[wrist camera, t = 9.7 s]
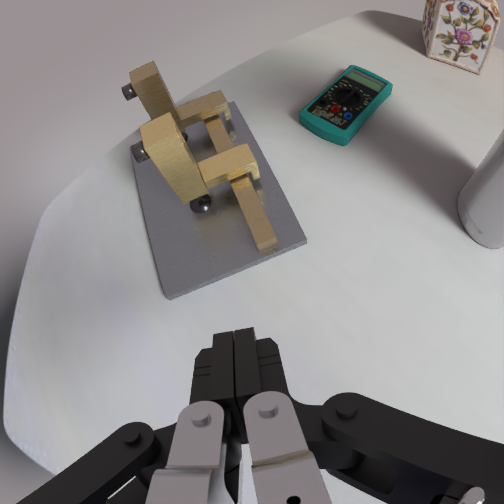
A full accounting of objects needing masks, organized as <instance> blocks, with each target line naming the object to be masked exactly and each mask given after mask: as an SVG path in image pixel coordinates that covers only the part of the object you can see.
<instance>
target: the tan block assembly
mask: <svg viewBox="0 0 504 504" xmlns="http://www.w3.org/2000/svg"><path fill="white" fill-rule="evenodd" d="M129 73H130V79H131V83H129V84H127V85H126V86H123V87H122V92H123V94H124V96H125V98H126V100H130V99H132V98H134V97H136V96H138V97H139V99H140V100H141V102H142V104H143V106H144V107H145V109H146V111H147V112H148V114H149V116H150V117H151V119H152V120H154V119H156V118H158V117H160V116H162V115H164V114H167V113H169V112H170V113H171V115H172V117H173V119H174V121H175V123H176V125H177V126H178V128H179V130H180V132H181V133H182V132H185V131H186V129H185V128H186V127H188V126H190V125H192V124H195V123H197V122H200V121H202V120H203V121H204V123H205V126H206V128H207V130H208V133H209V135H210V137H211V140H212V142H213V144H214V147H215V149H216V151H217V154H220V153H222V152H224V151H227V150H229V149H232V148H234V146H233V144H232V142H231V140H230V138H229V136H228V133H227V131H226V129H225V127H224V125H223V123H222V121H221V119H220V117H219V115H218V114H219V113H223V115H224V117H225V119H226V121H227V120H229V119H232V116H231V113H230V110H229V106H228V103H227V101H226V99H225V97H224V96H223V94H222V92H221V90H219V91H217V92H213V93H210V94H208V95H205V96H203V97H200V98H198V99H195V100H193V101H191V102H188V103H186V104H184V105H181V106H179V107H177V108H176V105H175V103H174V101H173V99H172V97H171V95H170V93H169V91H168V89H167V87H166V85H165V83H164V81H163V79H162V77H161V75H160V73H159V71H158V68H157V66H156V64H155V62H154V61H152V62H150V63H147V64H145V65H143V66H141V67H139V68H137V69H135V70H133V71H131V72H129ZM229 182H230V184H231V186H232V189H233V191H234V193H235V196H236V198H237V200H238V203H239V205H240V207H241V210H242V212H243V214H244V217H245V219H246V221H247V224H248V226H249V229H250V231H251V233H252V236H253V238H254V240H255V243H256V245H257V247H258V250H259V252H260V254H261V253H263V252H266V251H268V250H271V249H273V248H275V247H278V243H277V238H276V235H275V233H274V231H273V229H272V227H271V225H270V222H269V220H268V218H267V216H266V214H265V212H264V209H263V207H262V205H261V203H260V201H259V199H258V196H257V194H256V192H255V190H254V188H253V186H252V184H251V182H250V179H249V177H248V175H247V173H246V174H243V175H241V176H239V177H236V178H234V179H231V180H229Z"/></svg>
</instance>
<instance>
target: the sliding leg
mask: <svg viewBox="0 0 504 504" xmlns="http://www.w3.org/2000/svg"><path fill="white" fill-rule="evenodd" d="M140 131H141V136H142V141H140V142H138V143H136V144H134V145H132V146H131V151H132V154H133V156H134V158H135V160H136V161H137V163H141V162H143V161H145V160H147V159H149V158H151V159H152V161H153V162H154V163H155V165H156V166H157V168H158V169H159V170H160V172H161V173H162V175H163V176H164V177H165V179H166V180H167V182H168V183H169V185H170V186H171V187H172V189H173V190H174V192H175V193H176V194H177V196H178V197H179V198H180V200H181V201H182V203H183V204H184V203H187V202H189V201H191V200H193V199H196V200H197V199H200V198H201V196H203V195H205V194H207V193H209V192H208V189H210V188H212V187H215V186H217V185H219V184H222V183H224V182H227V181H229V180H231V179H234V178H236V177H239V176H241V175H243V174H246V173H248V172H250V173H251V175H252V178H253V180H254V179H257V178H259V177H260V174H259V170H258V166H257V161H256V160H255V158H254V156H253V154H252V152H251V150H250V148H249V146H248V144H247V143H246V144H242V145H239V146H237V147H234V148H232V149H229V150H227V151H224V152H222V153H220V154H217V155H215V156H212V157H210V158H208V159H205V160H203V161H201V162H198V165H197V163H196V161H195V159H194V157H193V155H192V153H191V152H190V150H189V148H188V146H187V144H186V142H185V140H184V138H183V136H182V134H181V132H180V130H179V128H178V126H177V125H176V123H175V121H174V119H173V117H172V115H171V113H170V112H169V113H167V114H164V115H162V116H160V117H158V118H156V119H154V120H152V121H150V122H148V123H146V124H144V125H142V126H140ZM198 166H199V167H198ZM207 188H208V189H207Z"/></svg>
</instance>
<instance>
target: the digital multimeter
mask: <svg viewBox="0 0 504 504" xmlns="http://www.w3.org/2000/svg"><path fill="white" fill-rule="evenodd" d="M392 86H393V85H392V84H391V83H390V82H389V81H387V80H385V79H383V78H382V77H380V76H378V75H376V74H374V73H372V72H370V71H367V70H365V69H363V68H360V67H358V66H355V65H350V66H349V67H348V68H347V69H346V70H345V71H344V72H343V73H342V74H341V75H340V76H339V77H338V78H337V79H336V80H335V81H334V82H333V83H332V84H331V85H330V86H329V87H328V88H327V89H325V90H324V91H323V92H322V93H321V94H320V95H318V96H317V97H316V98H315V99H314V100H313V101H311V102H310V103H309V104H308V105H306V106H305V107H304V108H303V109H302V110H300V111H299V120H300V123H301V124H303V125H304V126H305V127H306V128H307V129H309V130H310V131H311V132H313V133H314V134H316V135H317V136H319V137H321V138H323V139H325V140H328V141H330V142H333V143H336V144H339V145H342V146H346V145H347V144H348V142H349V141H350V140H351V138H352V137H353V136H354V134H355V133H356V132H357V131H358V129H359V128H360V127H361V126H362V124H363V123H364V122H365V121H366V120H367V118H368V117H369V116H370V115H371V114H372V113H373V112H374V111H375V110H376V108H377V107H378V106H379V105H380V104H381V103H382V102H383V101H384V100H385V99H386V98H387V97H388V96H389V95H390V94H391V91H392ZM361 96H362V97H361ZM369 103H370V104H369ZM358 115H359V116H358ZM348 126H349V127H348Z"/></svg>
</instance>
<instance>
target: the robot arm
mask: <svg viewBox="0 0 504 504" xmlns="http://www.w3.org/2000/svg"><path fill="white" fill-rule="evenodd" d="M457 206H458V213H459V216H460V219H461V222H462V224H463V226H464V228H465V229H466V231H467V232H468V234H469V235H470V236H471V237H472V238H473V239H474V240H475V241H476V242H478V243H479V244H481V245H483V246H485V247H487V248H491V249H498V248H501V247H503V246H504V129H503V131H502V132H501V134H500V136H499V137H498V139H497V140H496V142H495V143H494V145H493V146H492V148H491V149H490V151H489V152H488V154H487V155H486V156H485V158H484V159H483V161H482V162H481V164H480V165H479V166H478V168H477V169H476V171H475V172H474V173H473V175H472V176H471V177H470V179H469V180H468V182H467V183H466V184H465V186H464V187H463V188H462V190H461V192H460V193H459V197H458V205H457ZM248 443H249V446H250V452H251V457H252V463H253V465H252V475H253V480H254V485H255V491H256V496H257V501H258V504H332V502H331V499H330V497H329V494H328V491H327V489H326V486H325V483H324V481H323V478H322V475H321V473H320V470H319V469H326V471H327V472H328V473H329V474H331V475H333V476H334V477H336V478H338V479H340V480H342V481H344V482H345V483H347V484H349V485H351V486H353V487H355V488H357V489H359V490H361V491H363V492H365V493H367V494H369V495H371V496H373V497H375V498H377V499H379V500H381V501H383V502H385V503H388V504H504V444H501V443H497V442H494V441H490V440H487V439H483V438H480V437H477V436H473V435H470V434H467V433H464V432H461V431H458V430H454V429H451V428H448V427H445V426H442V425H440V424H437V423H434V422H431V421H428V420H425V419H422V418H420V417H417V416H414V415H411V414H409V413H406V412H403V411H401V410H398V409H395V408H393V407H390V406H388V405H385V404H383V403H380V402H378V401H375V400H373V399H370V398H368V397H365V396H363V395H360V394H357V393H351V392H347V393H340V394H337V395H335V396H332V397H331V398H329V399H328V400H327V401H326V402H325V403H324V405H306V404H302V403H299V402H297V401H296V400H294V399H293V398H292V397H291V396H290V394H289V392H288V388H287V383H286V379H285V375H284V371H283V366H282V362H281V358H280V353H279V349H278V345H277V344H276V343H275V342H274V341H273V340H272V339H271V338H265V339H259V340H256V336H255V331H254V327H251V328H246V329H240V330H235V331H234V332H233V331H229V332H223V333H217V334H214V335H213V345H212V348H206V349H202V350H201V351H200V353H199V354H198V355H197V357H196V358H195V365H194V372H193V380H192V387H191V395H190V403H189V406H187V407H186V408H184V409H183V410H182V412H181V413H180V415H179V417H178V421H177V422H176V423H174V424H172V425H170V426H167V427H164V428H161V429H157V430H154V431H153V429H152V428H151V427H150V426H149V425H147V424H146V423H142V422H132V423H128V424H125V425H123V426H122V427H120V428H119V429H118V430H116V431H115V432H114V433H112V434H111V435H110V436H109V437H107V438H106V439H105V440H103V441H102V442H101V443H100V444H98V445H97V446H96V447H94V448H93V449H92V450H90V451H89V452H88V453H86V454H85V455H84V456H82V457H81V458H80V459H78V460H77V461H76V462H74V463H73V464H72V465H70V466H69V467H68V468H66V469H65V470H63V471H62V472H61V473H59V474H58V475H57V476H55V477H54V478H52V479H51V480H50V481H48V482H47V483H45V484H44V485H43V486H41V487H40V488H38V489H37V490H35V491H34V492H33V493H31V494H30V495H28V496H27V497H25V498H24V499H22V500H21V501H19V502H18V503H17V504H242V483H243V460H242V450H241V444H248ZM134 476H136V477H135V478H134V479H133V480H132V481H131V482H129V483H128V484H127V485H126V486H125V487H123V488H122V489H121V490H120V491H119V492H117V493H116V494H115V495H114V496H112V497H111V498H109V499H108V497H109V496H111V495H112V494H113V493H114V492H116V491H117V490H118V489H119V488H120V487H122V486H123V485H124V484H125V483H127V482H128V481H129V480H130V479H131V478H133V477H134Z"/></svg>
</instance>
